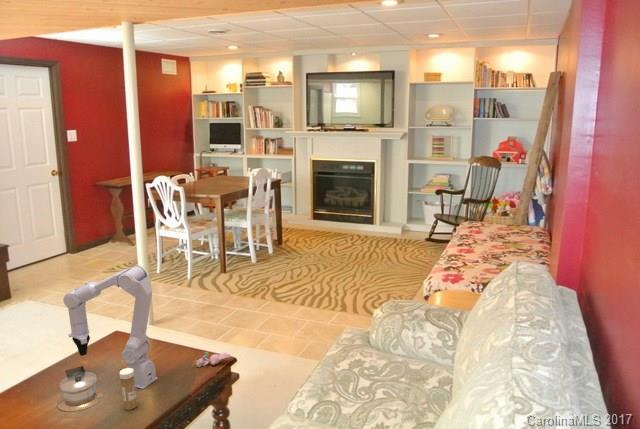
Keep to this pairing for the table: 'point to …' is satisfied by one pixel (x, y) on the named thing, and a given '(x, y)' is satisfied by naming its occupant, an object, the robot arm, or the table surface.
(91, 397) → the cooker pot
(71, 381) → the cooker lid
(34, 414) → the table surface
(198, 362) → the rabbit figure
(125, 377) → the sprinkles bottle
